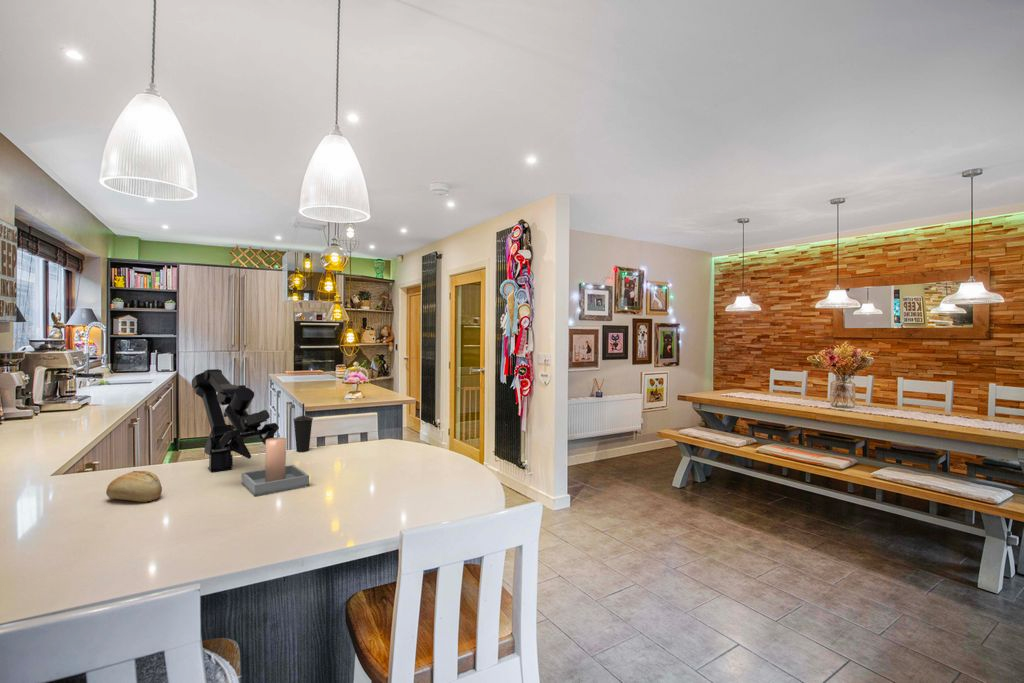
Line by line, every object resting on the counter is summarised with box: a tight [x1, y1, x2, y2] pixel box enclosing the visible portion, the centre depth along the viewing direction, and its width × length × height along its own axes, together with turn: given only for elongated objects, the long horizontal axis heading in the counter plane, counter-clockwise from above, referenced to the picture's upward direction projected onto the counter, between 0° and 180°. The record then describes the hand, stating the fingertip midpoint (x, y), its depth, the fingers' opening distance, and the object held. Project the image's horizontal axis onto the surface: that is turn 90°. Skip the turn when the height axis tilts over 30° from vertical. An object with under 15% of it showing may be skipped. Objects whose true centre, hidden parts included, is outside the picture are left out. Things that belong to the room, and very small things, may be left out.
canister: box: [264, 437, 287, 482], centre depth 154 cm, size 6×6×14 cm
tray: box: [241, 464, 310, 497], centre depth 154 cm, size 16×16×4 cm
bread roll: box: [105, 470, 163, 503], centre depth 139 cm, size 10×15×8 cm, turn 87°
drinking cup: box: [292, 402, 314, 453], centre depth 199 cm, size 8×8×20 cm
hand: (262, 454), depth 157 cm, fingers open, 9 cm apart
